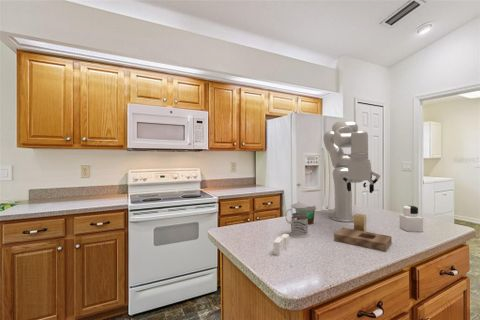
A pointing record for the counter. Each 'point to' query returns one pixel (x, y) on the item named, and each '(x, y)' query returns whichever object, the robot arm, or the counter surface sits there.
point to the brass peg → (360, 222)
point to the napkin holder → (281, 244)
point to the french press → (299, 221)
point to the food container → (307, 213)
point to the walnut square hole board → (363, 239)
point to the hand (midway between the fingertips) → (360, 191)
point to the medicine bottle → (411, 219)
